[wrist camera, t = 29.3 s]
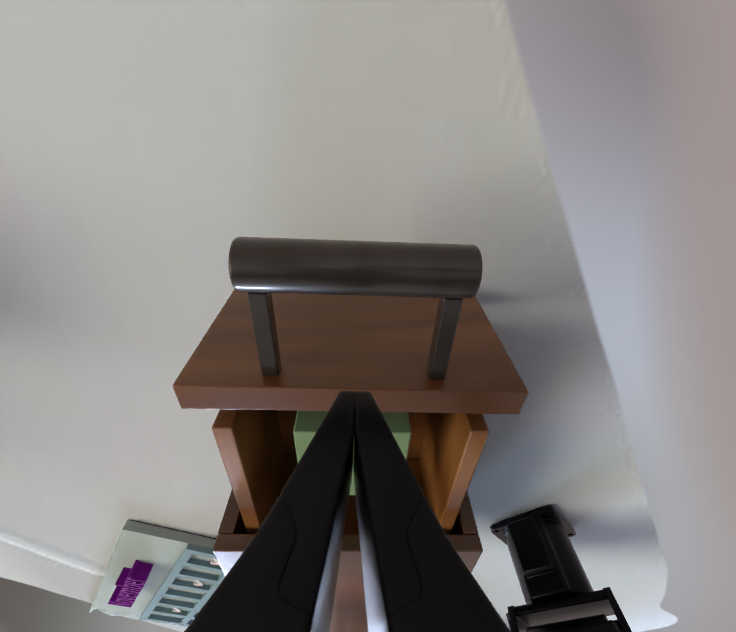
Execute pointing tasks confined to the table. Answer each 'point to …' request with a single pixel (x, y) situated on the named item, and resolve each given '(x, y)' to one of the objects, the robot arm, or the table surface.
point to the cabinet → (343, 561)
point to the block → (308, 427)
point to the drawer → (350, 360)
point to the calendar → (159, 575)
